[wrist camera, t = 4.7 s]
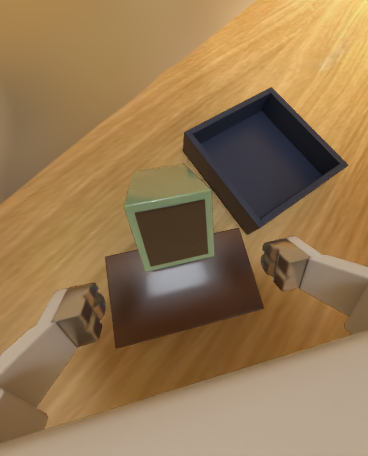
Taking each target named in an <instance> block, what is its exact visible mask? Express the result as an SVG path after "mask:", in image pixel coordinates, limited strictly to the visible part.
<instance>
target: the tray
mask: <svg viewBox="0 0 368 456" xmlns="http://www.w3.org/2000/svg"><path fill="white" fill-rule="evenodd" d="M183 151H184V153H185V154H186V155H187V157H188V158H189V159H190V160H191V162H192V163H193V164H194V166H195V167H196V168H197V170H198V171H199V172H200V174H201V175H202V176H203V177H204V179H205V180H206V181H207V183H208V184H209V185H210V187H211V188H212V189H213V191H214V192H215V193H216V194H217V196H218V197H219V198H220V200H221V201H222V202H223V204H224V205H225V206H226V208H227V209H228V210H229V211H230V213H231V214H232V215H233V217H234V218H235V219H236V221H237V222H238V223H239V225H240V226H241V227H242V228H243V230H244V231H245V232H246V234H247V235H248V234H250V233H252V232H253V231H255V230H257V229H259V228H261V227H262V226H263V225H265V224H266V223H268V222H269V221H270V220H272V219H273V218H275V217H276V216H278V215H279V214H280V213H282V212H283V211H285V210H286V209H287V208H289V207H290V206H292V205H293V204H295V203H296V202H297V201H299V200H300V199H302V198H303V197H305V196H306V195H307V194H309V193H310V192H312V191H313V190H314V189H316V188H317V187H319V186H320V185H322V184H323V183H324V182H326V181H327V180H329V179H330V178H331V177H333V176H334V175H336V174H337V173H339V172H340V171H341V170H343V169H344V168H346V167H347V166H348V164H347V163H346V162H345V161H344V160H343V159H342V158H341V157H340V156H339V155H338V154H337V153H336V152H335V151H334V150H333V149H332V148H331V147H330V146H329V145H328V144H327V143H326V142H325V141H324V140H323V139H322V138H321V137H320V136H319V135H318V134H317V133H316V132H315V131H314V130H313V129H312V128H311V127H310V126H309V125H308V124H307V123H306V122H305V121H304V120H303V119H302V118H301V117H300V116H299V115H298V114H297V113H296V112H295V110H294V109H293V108H292V107H291V106H290V105H289V104H288V103H287V102H286V101H285V100H284V99H283V98H282V97H281V96H280V95H279V94H278V93H277V92H276V91H275V90H274V89H273V88H272V87H271V88H269V89H267V90H265V91H263V92H261V93H259V94H257V95H255V96H253V97H252V98H250V99H248V100H246V101H244V102H242V103H240V104H238V105H236V106H234V107H232V108H230V109H228V110H226V111H224V112H222V113H220V114H219V115H217V116H215V117H213V118H211V119H209V120H207V121H205V122H203V123H201V124H199V125H197V126H195V127H193V128H191V129H190V130H188V131H186V132H184V144H183Z"/></svg>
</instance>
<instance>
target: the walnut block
mask: <svg viewBox="0 0 368 456" xmlns="http://www.w3.org/2000/svg"><path fill="white" fill-rule="evenodd" d="M213 234H214V256H213V257H209V258H205V259H200V260H196V261H192V262H187V263H183V264H179V265H174V266H170V267H165V268H161V269H157V270H152V271H148V272H145V270H144V267H143V264H142V261H141V258H140V255H139V252H138V250H134V251H130V252H125V253H120V254H116V255H111V256H107V257H105V261H106V269H107V278H108V287H109V295H110V304H111V313H112V321H113V330H114V339H115V347H116V349H118V348H121V347H125V346H129V345H132V344H136V343H140V342H143V341H147V340H151V339H155V338H158V337H162V336H166V335H169V334H173V333H177V332H180V331H184V330H188V329H191V328H195V327H199V326H202V325H206V324H210V323H214V322H217V321H221V320H225V319H228V318H232V317H236V316H239V315H243V314H247V313H250V312H254V311H258V310H261V309H264V306H263V303H262V300H261V297H260V293H259V290H258V287H257V284H256V281H255V278H254V274H253V271H252V268H251V265H250V262H249V259H248V255H247V252H246V249H245V246H244V243H243V240H242V236H241V233H240V230H239V228H236V229H232V230H227V231H222V232H218V233H213Z"/></svg>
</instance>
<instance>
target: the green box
mask: <svg viewBox="0 0 368 456" xmlns="http://www.w3.org/2000/svg"><path fill="white" fill-rule="evenodd" d="M124 209H125V212H126V215H127V218H128V221H129V225H130V228H131V231H132V234H133V237H134V240H135V243H136V246H137V249H138V252H139V255H140V258H141V261H142V264H143V267H144V270H145V272H148V271H152V270H157V269H161V268H165V267H170V266H174V265H179V264H183V263H187V262H192V261H196V260H200V259H205V258H209V257H213V256H214V234H213V210H212V190H211V189H210V188H209V187H208V186H207V185H206V184H205V183H204V182H203V181H202V180H200V179H199V178H198V177H197V176H196V175H195V174H194V173H193V172H192V171H191V170H190V169H189V168H187V167H186V166H185V165H184V164H183V163H182V164H176V165H170V166H164V167H158V168H152V169H146V170H140V171H134V172H133V173H132V177H131V181H130V185H129V188H128V192H127V196H126V200H125V203H124Z"/></svg>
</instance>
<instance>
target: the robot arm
mask: <svg viewBox="0 0 368 456" xmlns="http://www.w3.org/2000/svg"><path fill="white" fill-rule="evenodd" d="M262 250H263V251H264V252H265V253H264V254H263V255H262V256H261V264H262V267H263V269H264V271H265V272H266V273H267V275H270V276H272V277H273V282H274V283H275V284H276V285H277V286H278V287H279V289H280V290H281V291H282V292H285V291H289V290H294V289H298V288H300V290H302V291H304V292H306V293H307V294H309V295H311V296H313V297H315V298H316V299H318V300H320V301H322V302H324V303H326V304H327V305H329V306H331V307H333V308H335V309H336V310H338V311H340V312H342V313H344V314H345V315H347V316H349V317H348V319H347V321H346V322H345V324H344V328H345V329H346V330H347V331H348V332H349V333H350V334H351V335H349V336H346V337H342V338H339V339H336V340H333V341H330V342H326V343H323V344H320V345H317V346H313V347H310V348H307V349H304V350H300V351H297V352H294V353H291V354H287V355H284V356H281V357H278V358H274V359H271V360H268V361H265V362H261V363H258V364H255V365H252V366H248V367H245V368H242V369H239V370H236V371H232V372H229V373H226V374H223V375H219V376H216V377H213V378H210V379H206V380H203V381H200V382H197V383H193V384H190V385H187V386H184V387H180V388H177V389H174V390H171V391H167V392H164V393H161V394H158V395H154V396H151V397H148V398H145V399H142V400H138V401H135V402H132V403H129V404H125V405H122V406H119V407H116V408H112V409H109V410H106V411H103V412H99V413H96V414H93V415H90V416H87V417H83V418H80V419H77V420H74V421H70V422H67V423H64V424H61V425H57V426H54V427H51V428H48V429H45V426H46V423H47V420H48V416H47V414H46V413H45V412H43V411H41V410H39V409H38V408H36V407H37V406H38V405H39V403H40V402H41V400H42V399H43V397H44V396H45V395H46V393H47V392H48V390H49V389H50V387H51V386H52V385H53V383H54V382H55V380H56V379H57V377H58V376H59V375H60V373H61V372H62V370H63V369H64V367H65V366H66V365H67V363H68V362H69V360H70V359H71V357H72V356H73V355H74V353H75V352H76V350H77V349H78V348H77V347H80V346H84V345H87V344H90V343H94V342H97V341H99V338H100V333H101V329H102V324H101V322H100V320H101V319H102V318H103V317H104V315H105V310H106V309H105V300H104V297H103V295H102V294H100V293H98V287H97V285H96V283H88V284H84V285H79V286H74V287H70V288H65V289H61V290H57V291H56V292H54V294H53V296H52V298H51V299H50V301H49V303H48V305H47V306H46V308H45V310H44V312H43V314H42V315H41V317H40V319H39V321H38V323H37V324H36V326H35V327H32V328H30V329H29V330H28V331H27V332H26V333H24V334H23V335H22V336H21V337H20V338H19V339H18V340H16V341H15V342H14V343H13V344H12V345H11V346H10V347H8V348H7V349H6V350H5V351H4V352H3V353H2V354H1V355H0V456H368V267H367V266H364V265H360V264H357V263H353V262H350V261H347V260H343V259H340V258H336V257H333V256H330V255H322V254H321V253H319V252H318V251H316V250H315V249H313V248H312V247H311V246H309V245H308V244H306V243H305V242H303V241H302V240H301V239H299V238H298V237H296V236H291V237H287V238H283V239H279V240H275V241H271V242H266V243H264V245H263V249H262Z"/></svg>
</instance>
